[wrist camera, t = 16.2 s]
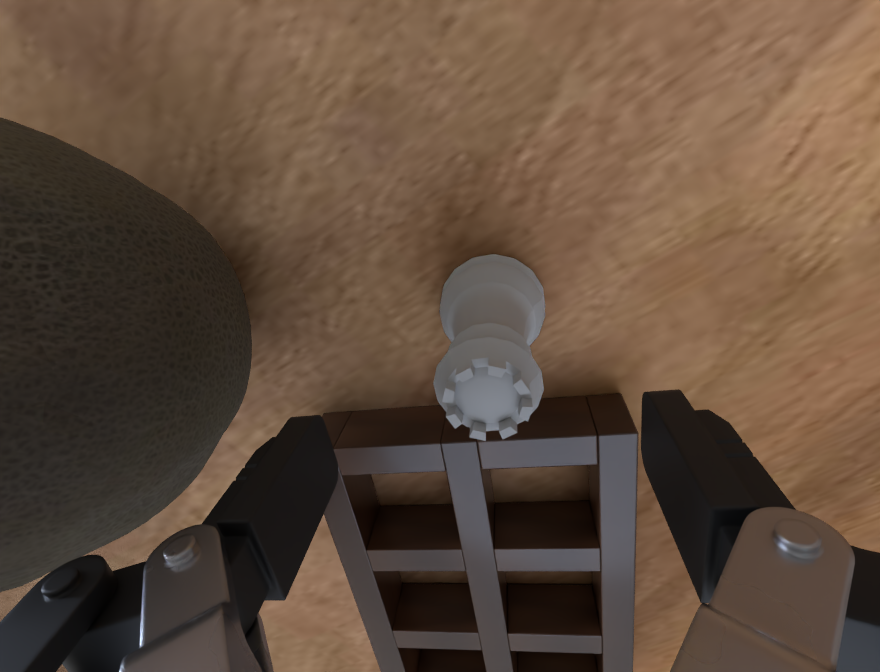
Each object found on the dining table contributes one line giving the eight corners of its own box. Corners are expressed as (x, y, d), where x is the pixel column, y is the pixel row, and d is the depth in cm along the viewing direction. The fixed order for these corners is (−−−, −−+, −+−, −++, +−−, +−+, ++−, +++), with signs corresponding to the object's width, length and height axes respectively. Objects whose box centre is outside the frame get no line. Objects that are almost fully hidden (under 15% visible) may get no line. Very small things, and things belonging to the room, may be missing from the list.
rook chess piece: (524, 234, 18) (539, 309, 11) (557, 328, 20) (588, 446, 13) (425, 272, 20) (381, 362, 12) (464, 358, 21) (445, 481, 14)
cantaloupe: (356, 213, 19) (-3, 446, 5) (260, 441, 25) (-21, 815, 12) (27, 33, 17) (-1559, -251, 4) (11, 322, 24) (-637, 591, 10)
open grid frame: (403, 660, 32) (394, 708, 30) (323, 412, 24) (300, 450, 21) (620, 668, 30) (632, 722, 27) (621, 392, 21) (639, 433, 18)
